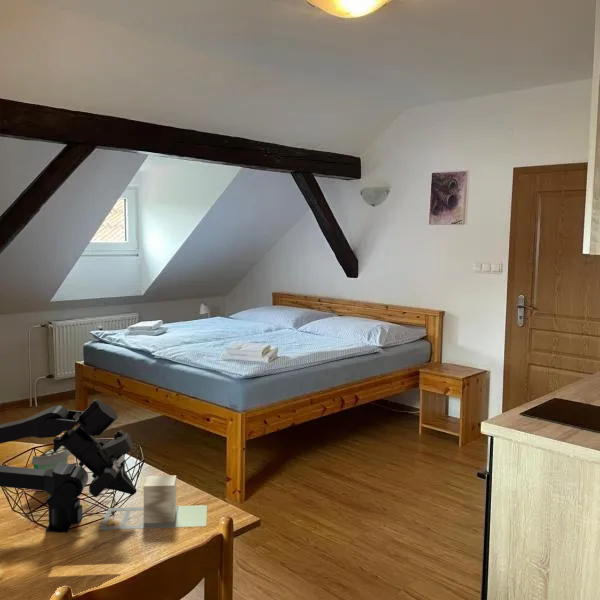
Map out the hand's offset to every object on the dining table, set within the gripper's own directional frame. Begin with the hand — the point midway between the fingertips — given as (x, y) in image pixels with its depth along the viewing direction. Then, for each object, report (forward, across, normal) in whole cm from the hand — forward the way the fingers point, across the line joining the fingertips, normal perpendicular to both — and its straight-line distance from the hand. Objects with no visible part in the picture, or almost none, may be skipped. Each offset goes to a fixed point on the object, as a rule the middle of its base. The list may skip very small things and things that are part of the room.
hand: (135, 492), depth 144 cm
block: (+8, 0, 0) cm, 9 cm away
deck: (+9, 0, +2) cm, 9 cm away
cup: (-2, +28, +14) cm, 31 cm away
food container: (-12, +24, +23) cm, 35 cm away
